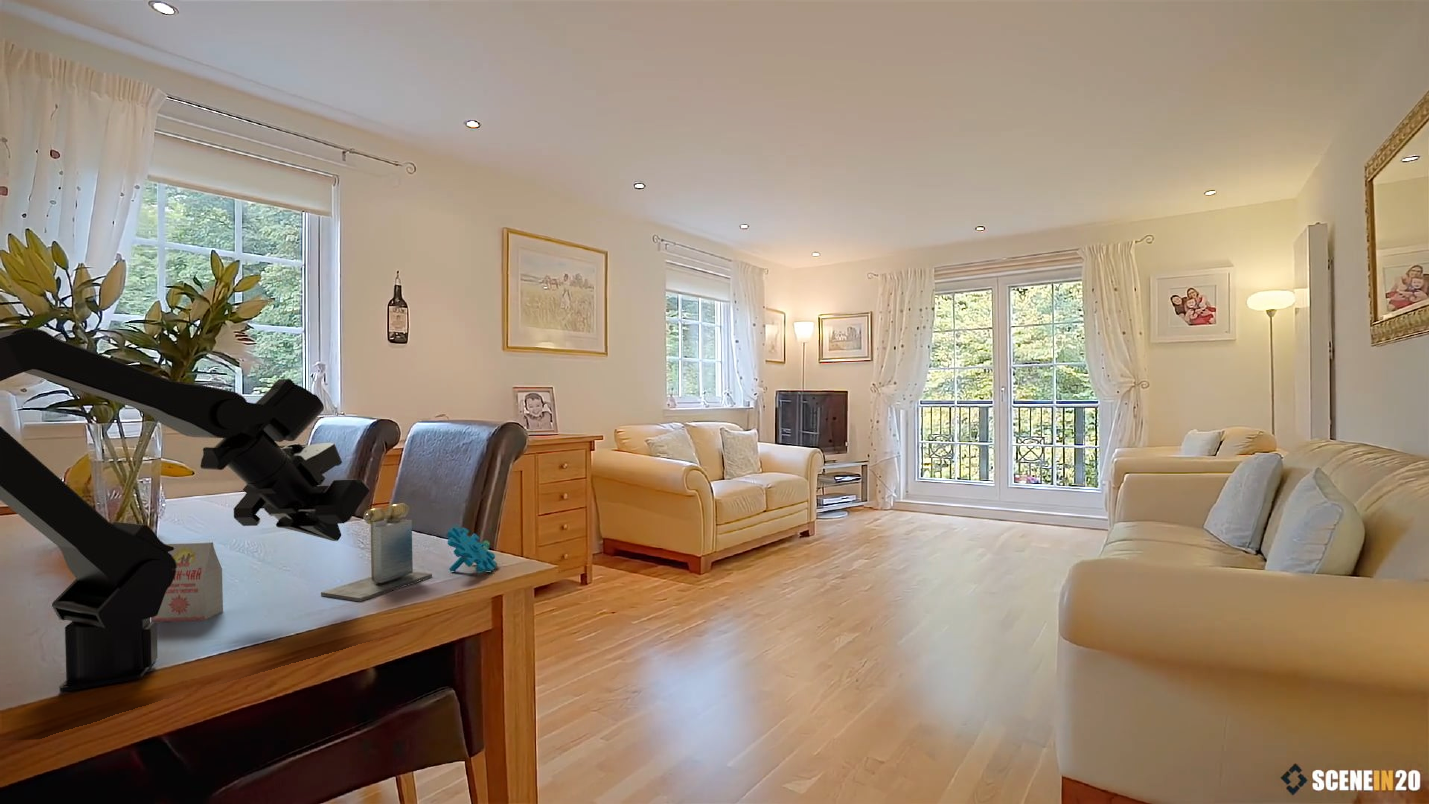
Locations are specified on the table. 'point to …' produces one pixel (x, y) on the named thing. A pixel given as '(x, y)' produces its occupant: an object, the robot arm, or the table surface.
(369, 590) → the hinge base
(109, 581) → the robot arm
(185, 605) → the tea bag
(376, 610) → the table surface
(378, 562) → the brass-capped grey pillar
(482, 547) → the teal branched piece
